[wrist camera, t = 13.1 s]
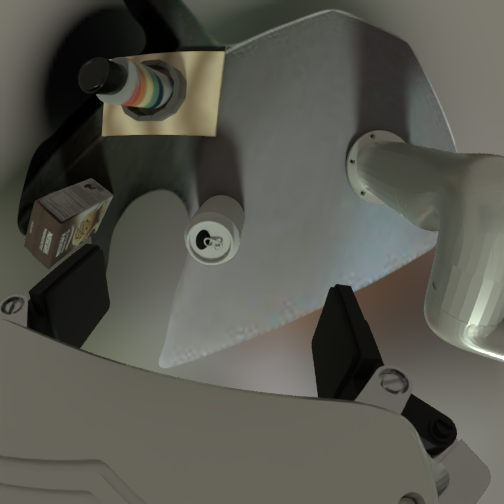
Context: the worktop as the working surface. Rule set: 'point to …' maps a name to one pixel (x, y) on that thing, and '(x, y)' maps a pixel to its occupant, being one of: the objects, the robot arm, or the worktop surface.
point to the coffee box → (65, 220)
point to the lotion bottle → (126, 83)
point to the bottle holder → (175, 97)
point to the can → (215, 230)
